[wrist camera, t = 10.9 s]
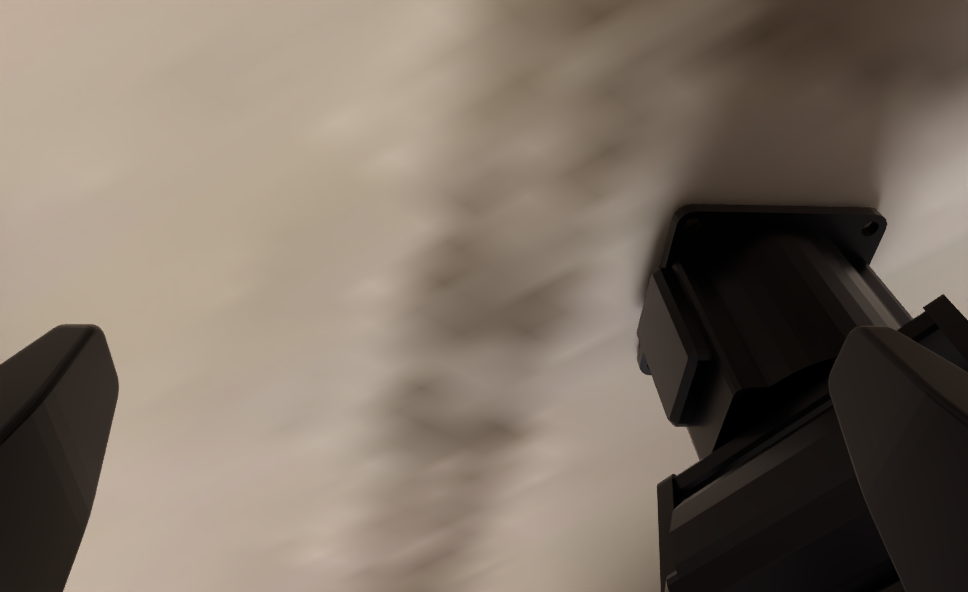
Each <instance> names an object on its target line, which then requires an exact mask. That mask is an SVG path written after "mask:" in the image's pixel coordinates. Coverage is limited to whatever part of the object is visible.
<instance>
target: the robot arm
mask: <svg viewBox="0 0 968 592" xmlns="http://www.w3.org/2000/svg"><path fill="white" fill-rule="evenodd" d="M690 219H697V220H696V222H695V223H694V224H692V225H690V226H684V225H685V224H686V222H687V221H689V220H690ZM869 222H871V224H870V225H869V226H868V227H866V228H864V229H862V228H863V227H864V225H866V224H867V223H869ZM886 226H887V222H886V219H885V218H884V217H883V216H882V215H881V214H880V212H878V211H877V210H876V209H874V208H860V207H809V206H759V205H708V204H691V205H686V206H684V207H682V208H680V209H679V210H678V211H677V212H676V213H675V214H674V217H673V219H672V223H671V227H670V230H669V234H668V238H667V242H666V246H665V250H664V254H663V258H662V262H661V266H660V267H659V268H657V269H656V270H655V271H654V272H653V273H652V274H651V277H650V281H649V285H648V289H647V293H646V297H645V301H644V305H643V309H642V313H641V317H640V321H639V325H638V329H637V336H638V339H639V342H640V348H639V351H638V355H637V362H638V364H639V367H640V370H641V371H642V372H643V373H644V374H646V375H652V377H653V380H654V383H655V386H656V388H657V391H658V394H659V397H660V399H661V402H662V405H663V408H664V410H665V413H666V416H667V419H668V420H669V421H670V422H671V423H672V424H673V425H674V426H675V427H687V429H688V432H689V434H690V437H691V440H692V442H693V445H694V447H695V450H696V453H697V455H698V458H699V460H700V461H698V462H697V463H695V464H694V465H692V466H691V467H689V468H688V469H686V470H685V471H683V472H682V473H680V474H679V475H675V474H672V475H671V476H669V477H668V478H666V479H665V480H663V481H662V482H660V483H659V484H658V485H657V497H658V524H659V551H660V578H661V592H968V320H967V319H966V318H965V317H964V316H963V315H962V314H961V313H960V312H959V310H958V309H957V308H956V307H955V306H954V305H953V304H952V303H951V302H950V301H949V300H948V299H947V297H946V296H945V295H944V294H943V295H941V296H940V297H938V298H937V299H935V300H934V301H932V302H931V303H929V304H928V305H926V306H925V307H923V309H924V310H925V312H923V313H922V314H920V315H919V316H917V317H916V318H914V319H913V318H912V317H911V316H910V314H909V313H908V312H907V311H906V310H905V308H904V307H903V306H902V305H901V304H900V302H899V301H898V300H897V299H896V298H895V296H894V295H893V294H892V293H891V292H890V290H889V289H888V288H887V287H886V285H885V284H884V283H883V282H882V281H881V279H880V278H879V277H878V276H877V275H876V273H875V272H874V271H873V270H872V269H871V267H870V266H869V264H870V262H871V260H872V258H873V256H874V254H875V251H876V249H877V247H878V245H879V243H880V241H881V238H882V236H883V234H884V232H885V230H886ZM118 392H119V382H118V376H117V373H116V370H115V366H114V363H113V360H112V357H111V354H110V351H109V347H108V344H107V341H106V338H105V335H104V333H103V331H102V330H101V328H100V327H98V326H96V325H93V324H64V325H59V326H57V327H55V328H53V329H52V330H50V331H49V332H47V333H46V334H44V335H43V336H42V337H40V338H39V339H37V340H36V341H34V342H33V343H31V344H30V345H28V346H27V347H25V348H24V349H22V350H21V351H19V352H18V353H17V354H15V355H14V356H12V357H11V358H9V359H8V360H6V361H5V362H3V363H2V364H0V592H63V590H64V587H65V585H66V582H67V579H68V576H69V574H70V571H71V568H72V565H73V563H74V560H75V557H76V554H77V552H78V549H79V546H80V543H81V541H82V538H83V535H84V532H85V529H86V526H87V523H88V520H89V517H90V514H91V510H92V506H93V502H94V498H95V495H96V490H97V486H98V481H99V477H100V473H101V468H102V464H103V460H104V455H105V451H106V447H107V442H108V438H109V434H110V429H111V425H112V421H113V416H114V412H115V408H116V403H117V399H118Z"/></svg>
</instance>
